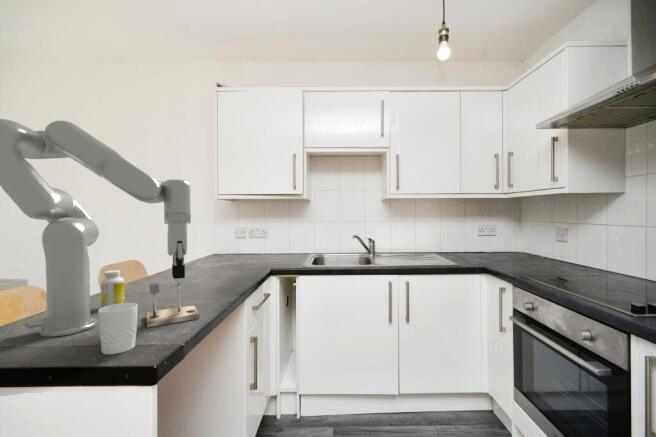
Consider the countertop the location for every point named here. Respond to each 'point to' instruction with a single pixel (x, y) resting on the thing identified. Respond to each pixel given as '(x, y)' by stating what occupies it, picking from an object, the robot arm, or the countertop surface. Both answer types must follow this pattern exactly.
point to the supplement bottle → (112, 288)
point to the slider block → (179, 290)
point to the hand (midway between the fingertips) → (178, 276)
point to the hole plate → (172, 316)
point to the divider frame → (156, 287)
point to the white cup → (118, 327)
